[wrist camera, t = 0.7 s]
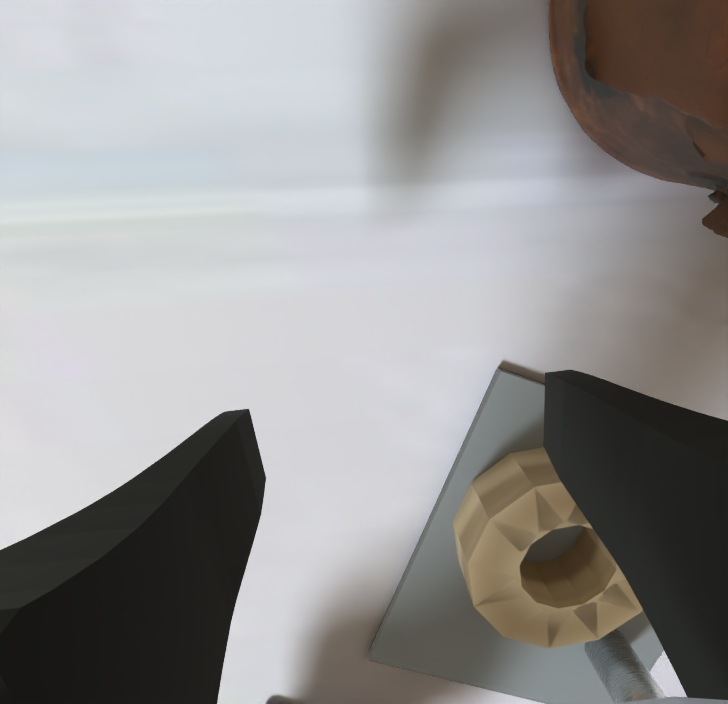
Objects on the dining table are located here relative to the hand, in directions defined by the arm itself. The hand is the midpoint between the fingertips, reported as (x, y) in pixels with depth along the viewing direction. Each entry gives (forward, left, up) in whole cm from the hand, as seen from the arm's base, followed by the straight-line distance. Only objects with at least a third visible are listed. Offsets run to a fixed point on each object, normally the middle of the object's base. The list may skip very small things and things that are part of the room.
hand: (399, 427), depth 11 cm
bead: (-7, -12, -10) cm, 17 cm away
